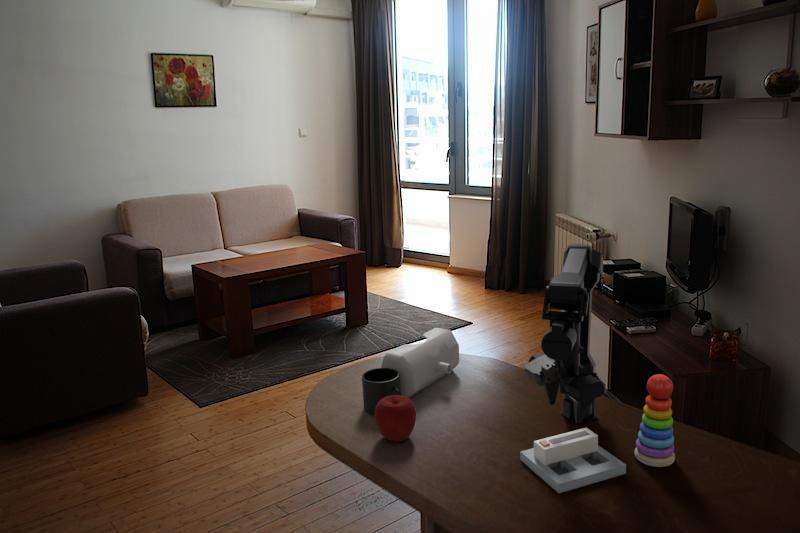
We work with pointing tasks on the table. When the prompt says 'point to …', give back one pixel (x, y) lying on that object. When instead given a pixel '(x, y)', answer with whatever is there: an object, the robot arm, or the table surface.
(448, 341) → the tank
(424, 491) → the table surface
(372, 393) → the mug
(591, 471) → the keyhole board
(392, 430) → the apple
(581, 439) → the power strip
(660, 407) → the stacking toy
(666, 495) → the table surface
